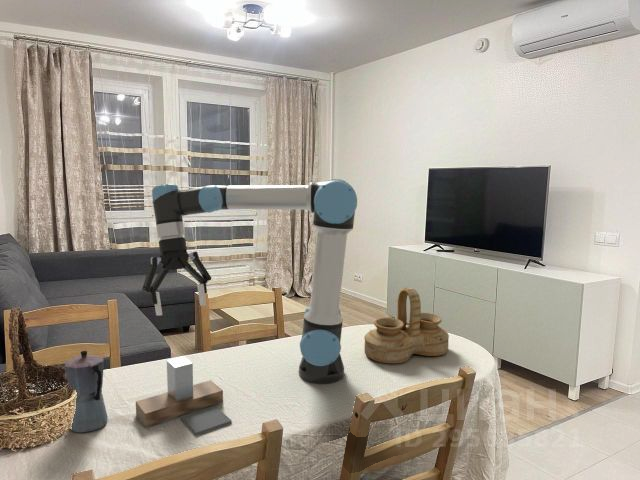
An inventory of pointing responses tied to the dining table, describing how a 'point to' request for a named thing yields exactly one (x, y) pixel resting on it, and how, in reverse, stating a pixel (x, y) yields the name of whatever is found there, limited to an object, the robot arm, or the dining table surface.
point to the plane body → (177, 404)
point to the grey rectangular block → (180, 379)
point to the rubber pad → (205, 420)
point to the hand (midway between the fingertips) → (182, 310)
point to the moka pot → (87, 391)
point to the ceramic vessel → (406, 333)
